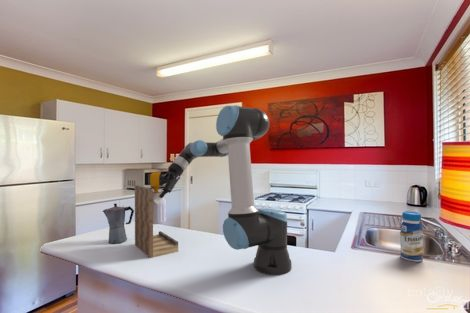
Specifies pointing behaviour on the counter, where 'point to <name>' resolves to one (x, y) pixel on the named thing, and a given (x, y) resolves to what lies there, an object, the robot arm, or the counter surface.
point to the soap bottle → (159, 208)
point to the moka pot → (117, 223)
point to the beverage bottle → (411, 236)
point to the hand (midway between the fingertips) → (150, 201)
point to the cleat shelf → (149, 227)
